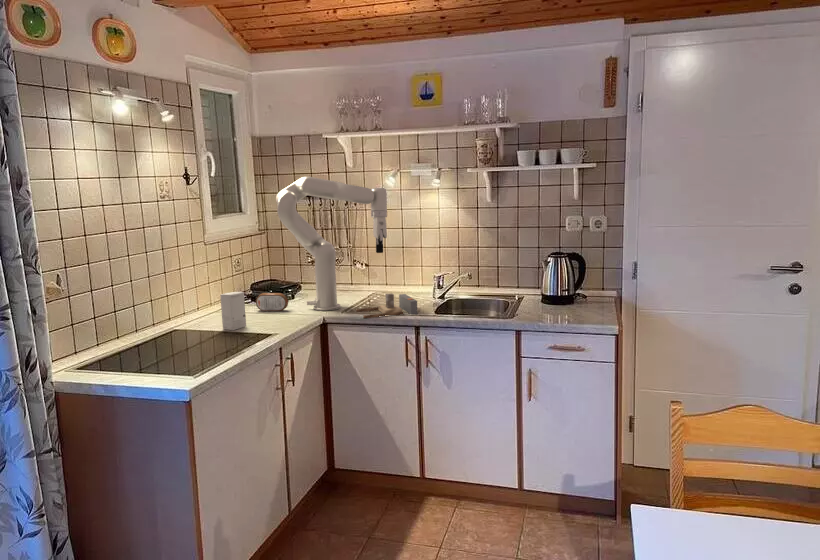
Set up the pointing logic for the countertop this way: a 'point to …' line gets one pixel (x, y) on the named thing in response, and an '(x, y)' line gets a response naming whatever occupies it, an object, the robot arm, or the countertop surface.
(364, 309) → the track
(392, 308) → the post on wide base
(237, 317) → the skincare box
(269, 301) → the tin
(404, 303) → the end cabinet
